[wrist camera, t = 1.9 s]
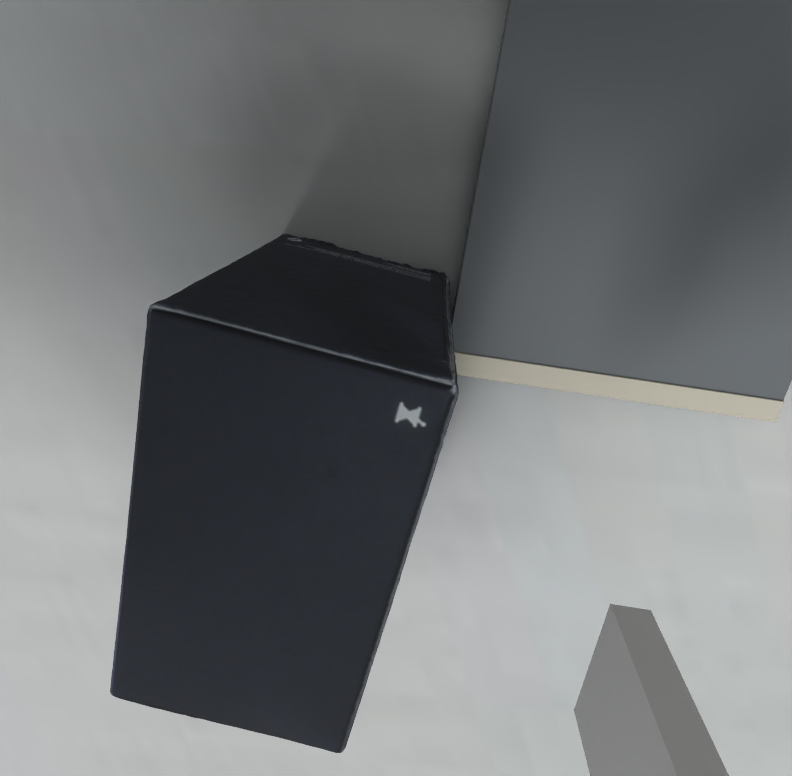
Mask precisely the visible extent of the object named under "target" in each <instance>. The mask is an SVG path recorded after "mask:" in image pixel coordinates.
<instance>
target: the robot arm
mask: <svg viewBox="0 0 792 776" xmlns="http://www.w3.org/2000/svg"><path fill="white" fill-rule="evenodd" d="M574 712H575V716H576V720H577V724H578V728H579V732H580V736H581V740H582V744H583V748H584V752H585V756H586V760H587V764H588V768H589V772H590V776H729V775H728V773H727V771H726V769H725V767H724V764H723V762H722V760H721V758H720V756H719V754H718V752H717V750H716V748H715V745H714V743H713V741H712V739H711V737H710V735H709V733H708V731H707V728H706V726H705V724H704V722H703V720H702V718H701V716H700V714H699V712H698V709H697V707H696V705H695V703H694V701H693V699H692V697H691V695H690V693H689V690H688V688H687V686H686V684H685V682H684V680H683V678H682V676H681V673H680V671H679V669H678V667H677V665H676V663H675V661H674V659H673V657H672V654H671V652H670V650H669V648H668V646H667V644H666V642H665V640H664V637H663V635H662V633H661V631H660V629H659V627H658V625H657V623H656V621H655V618H654V616H653V614H652V612H651V610H645V609H639V608H633V607H626V606H620V605H613V604H610V607H609V609H608V612H607V615H606V618H605V621H604V624H603V627H602V630H601V633H600V636H599V639H598V642H597V645H596V647H595V650H594V653H593V656H592V659H591V662H590V665H589V668H588V671H587V674H586V677H585V680H584V683H583V685H582V688H581V691H580V694H579V697H578V700H577V703H576V706H575V709H574Z"/></svg>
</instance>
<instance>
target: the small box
mask: <svg viewBox="0 0 792 776" xmlns="http://www.w3.org/2000/svg"><path fill="white" fill-rule="evenodd" d="M449 288H450V282H449V280H448V278H447V277H446V275H445V273H442V272H441V273H438V272H436V271H435V270H427V269H416V268H413V267H411V266H410V265H408V264H403V265H402V264H398V263H396V262H391V261H385V260H383V259H381V258H375V257H372V256H368V255H364V254H361V253H359V252H358V251H350V250H346V249H343V248H338V247H336V246H335V245H334V244H332V243H326V242H323V241H317V240H314V239H307V238H299V237H295V236H292V235H288V234H284V235H281V236H280V237H278V238H277V239H275V240H273V241H271V242H270V243H268V244H266V245H264V246H262V247H261V248H259V249H257V250H255V251H253V252H252V253H250V254H248V255H246V256H244V257H242V258H241V259H238V260H237V261H235V262H233V263H231V264H230V265H228V266H226V267H224V268H222V269H220V270H218V271H216V272H214V273H212V274H210V275H209V276H207V277H205V278H203V279H201V280H199V281H197V282H195V283H194V284H192V285H190V286H188V287H187V288H185V289H183V290H182V291H180V292H178V293H176V294H174V295H172V296H170V297H169V298H167V299H164V300H161V301H158V302H156V303H154V304H152V305H150V307H149V310H148V314H147V329H146V336H145V348H144V355H143V366H142V378H141V389H140V400H139V411H138V422H137V432H136V443H135V453H134V464H133V474H132V485H131V495H130V506H129V516H128V527H127V539H126V547H125V556H124V565H123V575H122V585H121V594H120V604H119V614H118V623H117V632H116V641H115V650H114V660H113V669H112V677H111V688H110V692H111V695H113V696H115V697H117V698H120V699H124V700H128V701H131V702H135V703H139V704H142V705H146V706H149V707H153V708H158V709H163V710H166V711H170V712H174V713H178V714H183V715H187V716H190V717H194V718H200V719H205V720H208V721H212V722H216V723H220V724H224V725H229V726H233V727H238V728H242V729H246V730H250V731H254V732H258V733H262V734H267V735H271V736H275V737H279V738H283V739H287V740H291V741H294V742H298V743H302V744H305V745H309V746H313V747H317V748H321V749H324V750H328V751H332V752H335V753H341V752H342V751H343V750H344V749H345V747H346V744H347V741H348V738H349V735H350V732H351V729H352V726H353V723H354V720H355V716H356V713H357V710H358V707H359V704H360V701H361V698H362V695H363V692H364V689H365V686H366V683H367V679H368V676H369V672H370V669H371V666H372V664H373V661H374V657H375V654H376V651H377V648H378V645H379V642H380V639H381V635H382V632H383V629H384V626H385V623H386V620H387V617H388V615H389V612H390V609H391V605H392V602H393V599H394V595H395V592H396V589H397V586H398V583H399V580H400V577H401V573H402V570H403V567H404V564H405V561H406V557H407V554H408V550H409V546H410V543H411V541H412V538H413V535H414V532H415V529H416V526H417V523H418V520H419V516H420V513H421V509H422V506H423V503H424V501H425V498H426V495H427V492H428V489H429V486H430V483H431V479H432V476H433V473H434V470H435V467H436V463H437V460H438V456H439V453H440V451H441V448H442V444H443V439H444V437H445V435H446V431H447V428H448V425H449V422H450V419H451V415H452V412H453V409H454V406H455V403H456V400H457V397H458V385H457V369H456V363H455V353H454V350H455V348H454V341H453V332H452V325H451V322H450V305H449V299H450V298H449V295H450V291H449Z"/></svg>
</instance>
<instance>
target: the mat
mask: <svg viewBox="0 0 792 776" xmlns="http://www.w3.org/2000/svg"><path fill="white" fill-rule="evenodd" d="M451 325H452V332H453V341H454V348H455V350H454V353H455V363H456V369H457V375H460V376H467V377H473V378H480V379H487V380H493V381H500V382H507V383H514V384H520V385H527V386H534V387H540V388H547V389H554V390H561V391H567V392H574V393H581V394H588V395H594V396H601V397H608V398H614V399H621V400H628V401H635V402H641V403H648V404H655V405H661V406H668V407H675V408H682V409H688V410H695V411H702V412H708V413H715V414H722V415H729V416H735V417H742V418H749V419H755V420H762V421H769V422H777V419H778V417H779V414H780V412H781V410H782V407H783V405H784V401H783V400H784V397H785V395H786V392H787V390H788V388H789V385H790V383H791V380H792V0H509V5H508V10H507V16H506V21H505V27H504V32H503V38H502V43H501V49H500V54H499V60H498V66H497V71H496V77H495V82H494V88H493V93H492V99H491V104H490V110H489V115H488V121H487V127H486V132H485V138H484V143H483V149H482V154H481V160H480V165H479V171H478V176H477V182H476V187H475V193H474V199H473V204H472V210H471V215H470V221H469V226H468V232H467V237H466V243H465V248H464V254H463V260H462V265H461V271H460V276H459V282H458V287H457V293H456V298H455V304H454V309H453V315H452V320H451Z"/></svg>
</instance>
